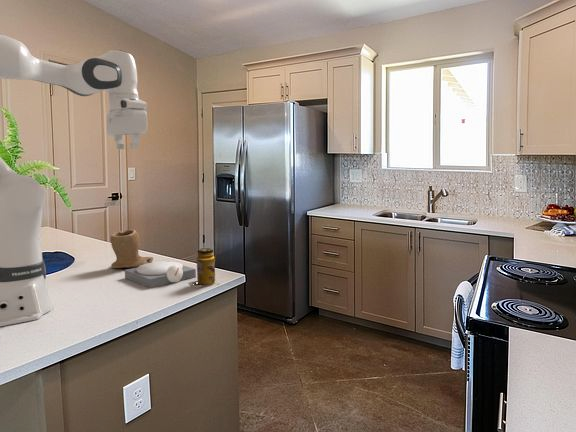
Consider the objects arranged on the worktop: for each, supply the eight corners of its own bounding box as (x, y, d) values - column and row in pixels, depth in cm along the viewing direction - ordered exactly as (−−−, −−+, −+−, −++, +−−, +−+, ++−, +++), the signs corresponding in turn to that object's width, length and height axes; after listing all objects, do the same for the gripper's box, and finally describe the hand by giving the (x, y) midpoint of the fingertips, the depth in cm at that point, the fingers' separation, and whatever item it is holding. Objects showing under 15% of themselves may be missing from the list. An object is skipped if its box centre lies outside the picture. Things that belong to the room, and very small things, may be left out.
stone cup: (107, 272, 167) (104, 233, 165) (115, 264, 179) (113, 228, 177) (148, 270, 169) (146, 232, 167) (153, 263, 181) (152, 227, 179)
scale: (152, 288, 145) (151, 270, 145) (125, 278, 158) (124, 261, 158) (197, 277, 158) (197, 260, 158) (168, 268, 172) (168, 253, 171)
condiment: (219, 284, 150) (218, 249, 149) (196, 288, 146) (194, 253, 144) (211, 279, 156) (209, 246, 155) (188, 283, 152) (186, 249, 150)
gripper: (100, 107, 144) (103, 149, 146) (130, 101, 130) (133, 148, 132) (118, 108, 148) (121, 149, 150) (150, 102, 134) (152, 148, 136)
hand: (127, 149), depth 141 cm, fingers open, 8 cm apart
